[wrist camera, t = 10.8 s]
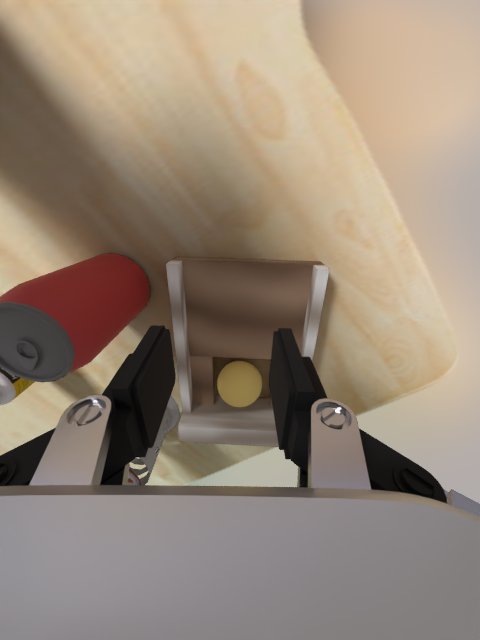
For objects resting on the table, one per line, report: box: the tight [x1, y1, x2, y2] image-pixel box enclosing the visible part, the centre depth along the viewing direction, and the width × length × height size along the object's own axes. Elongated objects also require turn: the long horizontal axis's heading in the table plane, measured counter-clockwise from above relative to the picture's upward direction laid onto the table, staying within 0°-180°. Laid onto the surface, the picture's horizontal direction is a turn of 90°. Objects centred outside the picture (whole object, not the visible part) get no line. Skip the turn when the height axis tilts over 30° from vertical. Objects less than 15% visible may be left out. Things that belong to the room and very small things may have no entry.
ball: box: [217, 361, 262, 407], centre depth 27 cm, size 5×5×5 cm
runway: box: [166, 257, 329, 447], centre depth 26 cm, size 20×14×5 cm
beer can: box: [0, 253, 150, 382], centre depth 20 cm, size 7×7×12 cm
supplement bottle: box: [0, 367, 35, 405], centre depth 26 cm, size 5×5×8 cm
